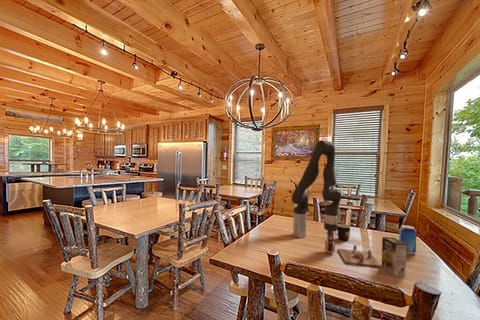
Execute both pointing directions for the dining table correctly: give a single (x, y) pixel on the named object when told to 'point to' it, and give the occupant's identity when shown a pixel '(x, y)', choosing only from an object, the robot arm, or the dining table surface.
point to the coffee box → (394, 256)
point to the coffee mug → (343, 232)
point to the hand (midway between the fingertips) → (329, 249)
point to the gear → (327, 246)
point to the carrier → (359, 257)
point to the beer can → (408, 238)
